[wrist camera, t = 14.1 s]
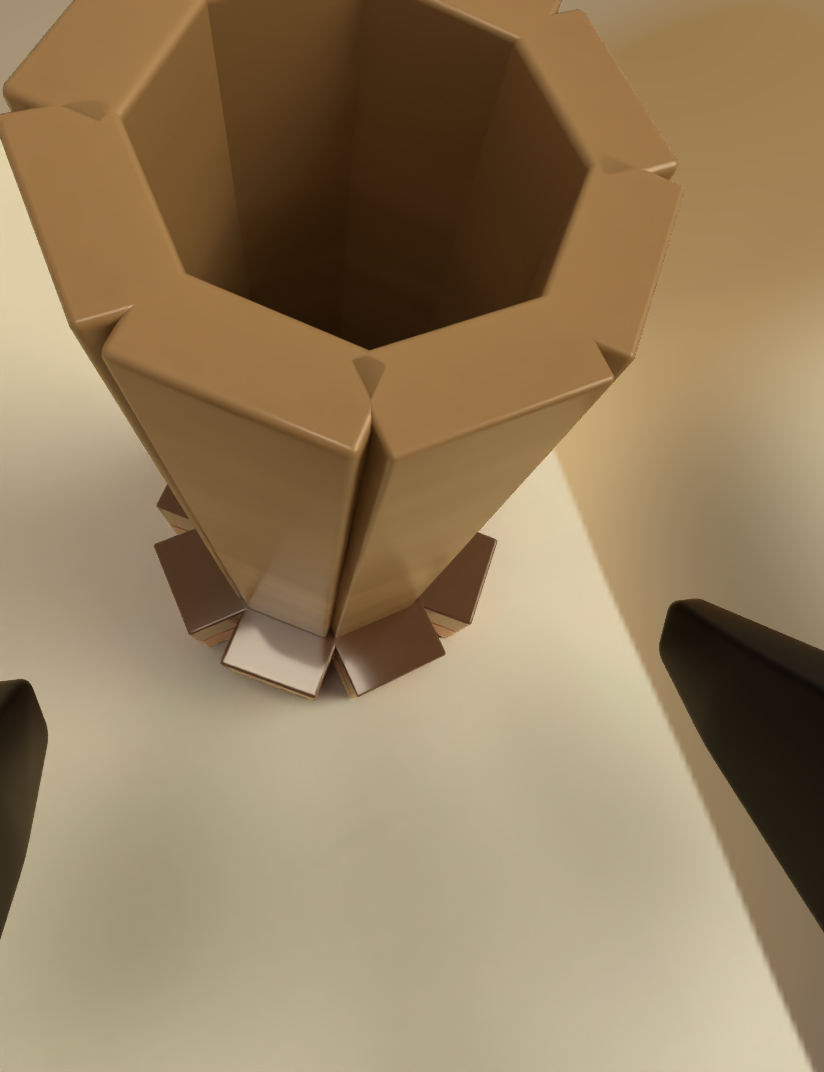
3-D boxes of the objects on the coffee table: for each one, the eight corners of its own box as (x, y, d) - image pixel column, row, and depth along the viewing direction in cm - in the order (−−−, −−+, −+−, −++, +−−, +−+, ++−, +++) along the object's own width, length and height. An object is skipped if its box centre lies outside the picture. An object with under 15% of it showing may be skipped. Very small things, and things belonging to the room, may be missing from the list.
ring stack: (498, 481, 22) (529, 443, 19) (414, 738, 19) (434, 743, 16) (254, 386, 21) (244, 331, 18) (131, 634, 19) (96, 619, 16)
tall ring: (473, 579, 17) (782, 319, 6) (265, 668, 16) (148, 548, 4) (386, 395, 19) (507, -120, 7) (185, 462, 17) (-72, -52, 6)
